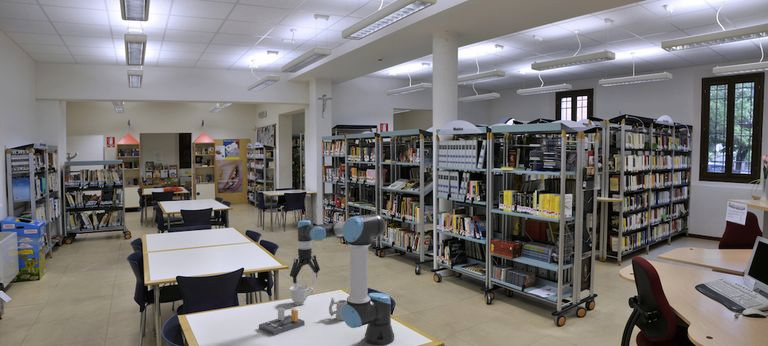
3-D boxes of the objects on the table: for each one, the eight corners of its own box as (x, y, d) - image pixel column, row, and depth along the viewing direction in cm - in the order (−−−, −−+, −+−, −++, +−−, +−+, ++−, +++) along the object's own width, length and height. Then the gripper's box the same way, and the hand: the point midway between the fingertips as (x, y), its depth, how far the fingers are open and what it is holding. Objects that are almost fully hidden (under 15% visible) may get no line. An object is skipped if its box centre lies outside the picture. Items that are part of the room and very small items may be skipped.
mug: (347, 321, 265) (347, 300, 265) (327, 320, 267) (327, 299, 266) (350, 316, 273) (350, 296, 272) (330, 315, 274) (330, 295, 274)
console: (304, 325, 259) (304, 320, 259) (273, 335, 245) (273, 330, 245) (289, 319, 269) (289, 314, 269) (258, 329, 254) (258, 324, 254)
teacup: (313, 305, 292) (313, 289, 292) (289, 307, 290) (288, 291, 290) (313, 299, 304) (313, 284, 304) (290, 300, 302) (290, 285, 302)
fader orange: (297, 320, 258) (297, 309, 258) (295, 321, 257) (295, 310, 257) (294, 319, 261) (293, 308, 260) (291, 320, 259) (291, 309, 259)
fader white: (284, 319, 260) (284, 308, 260) (281, 320, 259) (281, 309, 258) (280, 318, 263) (280, 307, 262) (277, 319, 261) (277, 308, 261)
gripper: (317, 244, 274) (318, 280, 275) (282, 250, 256) (283, 289, 257) (325, 245, 269) (326, 282, 270) (290, 252, 251) (291, 292, 252)
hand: (305, 286), depth 264 cm, fingers open, 12 cm apart
